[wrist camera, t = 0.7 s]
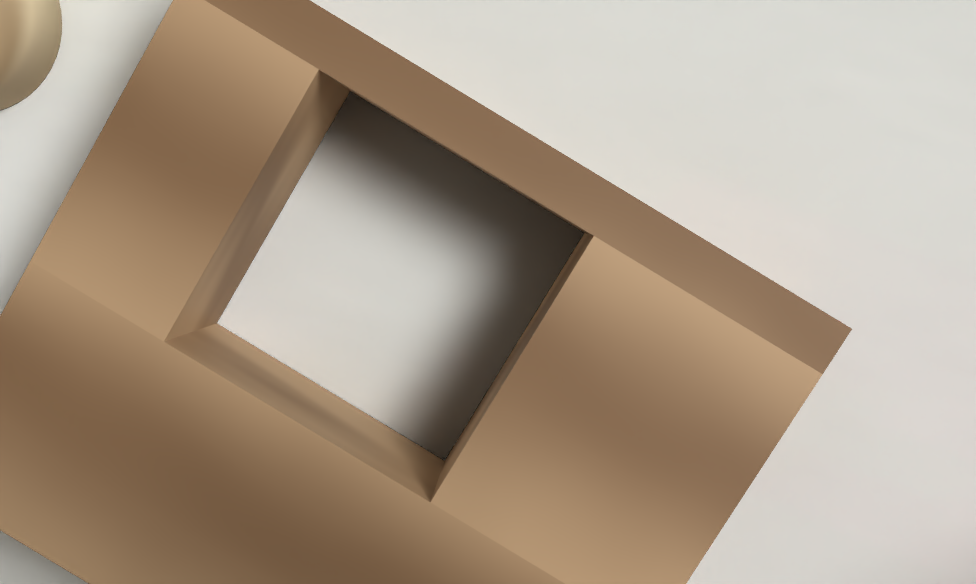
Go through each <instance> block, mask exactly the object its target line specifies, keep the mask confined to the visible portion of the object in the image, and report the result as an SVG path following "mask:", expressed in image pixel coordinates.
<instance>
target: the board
mask: <svg viewBox="0 0 976 584" xmlns="http://www.w3.org/2000/svg"><path fill="white" fill-rule="evenodd" d="M350 91H351V92H353V93H354V94H356V95H358V96H359V97H361V98H363V99H364V100H366V101H368V102H369V103H371V104H373V105H374V106H376V107H377V108H379V109H381V110H382V111H384V112H386V113H387V114H389V115H391V116H392V117H394V118H396V119H397V120H399V121H401V122H402V123H404V124H406V125H407V126H409V127H411V128H412V129H414V130H415V131H417V132H419V133H420V134H422V135H424V136H425V137H427V138H429V139H430V140H432V141H434V142H435V143H437V144H439V145H440V146H442V147H444V148H445V149H447V150H448V151H450V152H452V153H453V154H455V155H457V156H458V157H460V158H462V159H463V160H465V161H467V162H468V163H470V164H472V165H473V166H475V167H477V168H478V169H480V170H482V171H483V172H485V173H486V174H488V175H490V176H491V177H493V178H495V179H496V180H498V181H500V182H501V183H503V184H505V185H506V186H508V187H510V188H511V189H513V190H515V191H516V192H518V193H520V194H521V195H523V196H524V197H526V198H528V199H529V200H531V201H533V202H534V203H536V204H538V205H539V206H541V207H543V208H544V209H546V210H548V211H549V212H551V213H553V214H554V215H556V216H558V217H559V218H561V219H562V220H564V221H566V222H567V223H569V224H571V225H572V226H574V227H576V228H577V229H579V230H581V231H582V232H584V234H583V236H582V238H581V239H580V241H579V242H578V244H577V246H576V247H575V249H574V251H573V252H572V254H571V256H570V257H569V259H568V260H567V262H566V264H565V265H564V267H563V269H562V270H561V272H560V274H559V275H558V277H557V278H556V280H555V282H554V283H553V285H552V287H551V288H550V290H549V291H548V293H547V295H546V296H545V298H544V300H543V301H542V303H541V305H540V306H539V308H538V309H537V311H536V313H535V314H534V316H533V318H532V319H531V321H530V322H529V324H528V326H527V327H526V329H525V331H524V332H523V334H522V336H521V337H520V339H519V340H518V342H517V344H516V345H515V347H514V349H513V350H512V352H511V353H510V355H509V357H508V358H507V360H506V362H505V363H504V365H503V367H502V368H501V370H500V371H499V373H498V375H497V376H496V378H495V380H494V381H493V383H492V385H491V386H490V388H489V389H488V391H487V393H486V394H485V396H484V398H483V399H482V401H481V402H480V404H479V406H478V407H477V409H476V411H475V412H474V414H473V416H472V417H471V419H470V420H469V422H468V424H467V425H466V427H465V429H464V430H463V432H462V433H461V435H460V437H459V438H458V440H457V442H456V443H455V445H454V447H453V448H452V450H451V451H450V453H449V455H448V456H447V458H446V460H445V461H444V460H442V459H441V458H439V457H437V456H436V455H434V454H432V453H431V452H429V451H427V450H426V449H424V448H422V447H421V446H419V445H417V444H416V443H414V442H412V441H411V440H409V439H407V438H406V437H404V436H402V435H401V434H399V433H397V432H396V431H394V430H392V429H391V428H389V427H388V426H386V425H384V424H383V423H381V422H379V421H378V420H376V419H374V418H373V417H371V416H369V415H368V414H366V413H364V412H363V411H361V410H359V409H358V408H356V407H354V406H353V405H351V404H349V403H348V402H346V401H344V400H343V399H341V398H339V397H338V396H336V395H334V394H333V393H331V392H330V391H328V390H326V389H325V388H323V387H321V386H320V385H318V384H316V383H315V382H313V381H311V380H310V379H308V378H306V377H305V376H303V375H301V374H300V373H298V372H296V371H295V370H293V369H291V368H290V367H288V366H286V365H285V364H283V363H281V362H280V361H278V360H277V359H275V358H273V357H272V356H270V355H268V354H267V353H265V352H263V351H262V350H260V349H258V348H257V347H255V346H253V345H252V344H250V343H248V342H247V341H245V340H243V339H242V338H240V337H238V336H237V335H235V334H233V333H232V332H230V331H228V330H227V329H225V328H223V327H222V326H220V325H219V324H217V322H218V320H219V318H220V317H221V315H222V313H223V311H224V310H225V308H226V306H227V304H228V303H229V301H230V299H231V298H232V296H233V294H234V292H235V291H236V289H237V287H238V285H239V284H240V282H241V280H242V278H243V277H244V275H245V273H246V271H247V270H248V268H249V266H250V264H251V263H252V261H253V259H254V257H255V256H256V254H257V252H258V251H259V249H260V247H261V245H262V244H263V242H264V240H265V238H266V237H267V235H268V233H269V231H270V230H271V228H272V226H273V224H274V223H275V221H276V219H277V217H278V216H279V214H280V212H281V210H282V209H283V207H284V205H285V204H286V202H287V200H288V198H289V197H290V195H291V193H292V191H293V190H294V188H295V186H296V184H297V183H298V181H299V179H300V177H301V176H302V174H303V172H304V170H305V169H306V167H307V165H308V163H309V162H310V160H311V158H312V157H313V155H314V153H315V151H316V150H317V148H318V146H319V144H320V143H321V141H322V139H323V137H324V136H325V134H326V132H327V130H328V129H329V127H330V125H331V123H332V122H333V120H334V118H335V116H336V115H337V113H338V111H339V110H340V108H341V106H342V104H343V103H344V101H345V99H346V97H347V96H348V94H349V92H350ZM851 330H852V329H851V328H850V327H848V326H846V325H845V324H843V323H841V322H840V321H838V320H836V319H835V318H833V317H831V316H830V315H828V314H827V313H825V312H823V311H822V310H820V309H818V308H817V307H815V306H813V305H812V304H810V303H808V302H807V301H805V300H803V299H802V298H800V297H798V296H797V295H795V294H794V293H792V292H790V291H789V290H787V289H785V288H784V287H782V286H780V285H779V284H777V283H775V282H774V281H772V280H770V279H769V278H767V277H765V276H764V275H762V274H760V273H759V272H757V271H756V270H754V269H752V268H751V267H749V266H747V265H746V264H744V263H742V262H741V261H739V260H737V259H736V258H734V257H732V256H731V255H729V254H727V253H726V252H724V251H723V250H721V249H719V248H718V247H716V246H714V245H713V244H711V243H709V242H708V241H706V240H704V239H703V238H701V237H699V236H698V235H696V234H694V233H693V232H691V231H690V230H688V229H686V228H685V227H683V226H681V225H680V224H678V223H676V222H675V221H673V220H671V219H670V218H668V217H666V216H665V215H663V214H661V213H660V212H658V211H656V210H655V209H653V208H652V207H650V206H648V205H647V204H645V203H643V202H642V201H640V200H638V199H637V198H635V197H633V196H632V195H630V194H628V193H627V192H625V191H623V190H622V189H620V188H619V187H617V186H615V185H614V184H612V183H610V182H609V181H607V180H605V179H604V178H602V177H600V176H599V175H597V174H595V173H594V172H592V171H590V170H589V169H587V168H585V167H584V166H582V165H581V164H579V163H577V162H576V161H574V160H572V159H571V158H569V157H567V156H566V155H564V154H562V153H561V152H559V151H557V150H556V149H554V148H552V147H551V146H549V145H548V144H546V143H544V142H543V141H541V140H539V139H538V138H536V137H534V136H533V135H531V134H529V133H528V132H526V131H524V130H523V129H521V128H519V127H518V126H516V125H514V124H513V123H511V122H510V121H508V120H506V119H505V118H503V117H501V116H500V115H498V114H496V113H495V112H493V111H491V110H490V109H488V108H486V107H485V106H483V105H481V104H480V103H478V102H477V101H475V100H473V99H472V98H470V97H468V96H467V95H465V94H463V93H462V92H460V91H458V90H457V89H455V88H453V87H452V86H450V85H448V84H447V83H445V82H443V81H442V80H440V79H439V78H437V77H435V76H434V75H432V74H430V73H429V72H427V71H425V70H424V69H422V68H420V67H419V66H417V65H415V64H414V63H412V62H410V61H409V60H407V59H406V58H404V57H402V56H401V55H399V54H397V53H396V52H394V51H392V50H391V49H389V48H387V47H386V46H384V45H382V44H381V43H379V42H377V41H376V40H374V39H373V38H371V37H369V36H368V35H366V34H364V33H363V32H361V31H359V30H358V29H356V28H354V27H353V26H351V25H349V24H348V23H346V22H344V21H343V20H341V19H339V18H338V17H336V16H335V15H333V14H331V13H330V12H328V11H326V10H325V9H323V8H321V7H320V6H318V5H316V4H315V3H313V2H311V1H310V0H173V1H172V3H171V5H170V7H169V9H168V11H167V12H166V14H165V16H164V18H163V20H162V22H161V23H160V25H159V27H158V29H157V31H156V33H155V34H154V36H153V38H152V40H151V42H150V43H149V45H148V47H147V49H146V51H145V53H144V54H143V56H142V58H141V60H140V62H139V64H138V65H137V67H136V69H135V71H134V73H133V75H132V76H131V78H130V80H129V82H128V84H127V85H126V87H125V89H124V91H123V93H122V95H121V96H120V98H119V100H118V102H117V104H116V106H115V107H114V109H113V111H112V113H111V115H110V117H109V118H108V120H107V122H106V124H105V126H104V127H103V129H102V131H101V133H100V135H99V137H98V138H97V140H96V142H95V144H94V146H93V148H92V149H91V151H90V153H89V155H88V157H87V159H86V160H85V162H84V164H83V166H82V168H81V169H80V171H79V173H78V175H77V177H76V179H75V180H74V182H73V184H72V186H71V188H70V190H69V191H68V193H67V195H66V197H65V199H64V201H63V202H62V204H61V206H60V208H59V210H58V211H57V213H56V215H55V217H54V219H53V221H52V222H51V224H50V226H49V228H48V230H47V232H46V233H45V235H44V237H43V239H42V241H41V243H40V244H39V246H38V248H37V250H36V252H35V253H34V255H33V257H32V259H31V261H30V263H29V264H28V266H27V268H26V270H25V272H24V274H23V275H22V277H21V279H20V281H19V283H18V285H17V286H16V288H15V290H14V292H13V294H12V295H11V297H10V299H9V301H8V303H7V305H6V306H5V308H4V310H3V312H2V314H1V316H0V530H1V531H2V532H4V533H6V534H7V535H9V536H10V537H12V538H14V539H15V540H17V541H19V542H20V543H22V544H24V545H25V546H27V547H29V548H30V549H32V550H34V551H35V552H37V553H39V554H40V555H42V556H44V557H45V558H47V559H49V560H50V561H52V562H54V563H55V564H57V565H59V566H60V567H62V568H64V569H65V570H67V571H69V572H70V573H72V574H74V575H75V576H77V577H79V578H80V579H82V580H84V581H85V582H87V583H89V584H686V583H687V581H688V580H689V578H690V577H691V575H692V574H693V572H694V570H695V569H696V567H697V566H698V564H699V563H700V561H701V560H702V558H703V557H704V555H705V554H706V552H707V551H708V549H709V547H710V546H711V544H712V543H713V541H714V540H715V538H716V537H717V535H718V534H719V532H720V531H721V529H722V528H723V526H724V524H725V523H726V521H727V520H728V518H729V517H730V515H731V514H732V512H733V511H734V509H735V508H736V506H737V505H738V503H739V501H740V500H741V498H742V497H743V495H744V494H745V492H746V491H747V489H748V488H749V486H750V485H751V483H752V482H753V480H754V478H755V477H756V475H757V474H758V472H759V471H760V469H761V468H762V466H763V465H764V463H765V462H766V460H767V459H768V457H769V456H770V454H771V452H772V451H773V449H774V448H775V446H776V445H777V443H778V442H779V440H780V439H781V437H782V436H783V434H784V433H785V431H786V429H787V428H788V426H789V425H790V423H791V422H792V420H793V419H794V417H795V416H796V414H797V413H798V411H799V410H800V408H801V406H802V405H803V403H804V402H805V400H806V399H807V397H808V396H809V394H810V393H811V391H812V390H813V388H814V387H815V385H816V383H817V382H818V380H819V379H820V377H821V376H822V374H823V373H824V371H825V370H826V368H827V367H828V365H829V364H830V362H831V360H832V359H833V357H834V356H835V354H836V353H837V351H838V350H839V348H840V347H841V345H842V344H843V342H844V341H845V339H846V337H847V336H848V334H849V333H850V331H851Z"/></svg>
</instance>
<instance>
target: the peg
mask: <svg viewBox="0 0 976 584" xmlns="http://www.w3.org/2000/svg"><path fill="white" fill-rule="evenodd" d="M61 35H62V17H61V8H60V4H59V0H0V110H2V109H5V108H8V107H11V106H13V105H14V104H16V103H18V102H20V101H22V100H23V99H25V98H26V97H27V96H29V95H30V94H31V93H32V92H33V91H34V90H36V89H37V88H38V87H39V85H40V84H41V83H42V82H43V80H44V79H45V78H46V76H47V75H48V73H49V71H50V70H51V68H52V66H53V64H54V61H55V59H56V57H57V53H58V50H59V47H60V41H61Z"/></svg>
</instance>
